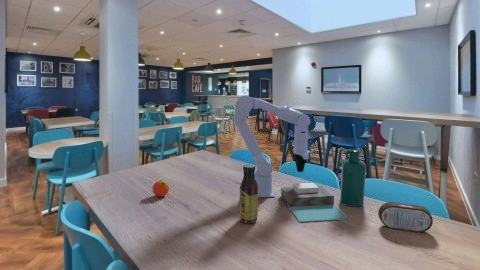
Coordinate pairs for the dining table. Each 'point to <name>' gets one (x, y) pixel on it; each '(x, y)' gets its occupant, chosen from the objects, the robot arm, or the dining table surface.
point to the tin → (405, 217)
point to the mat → (318, 213)
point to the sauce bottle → (249, 195)
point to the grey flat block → (306, 197)
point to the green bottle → (352, 179)
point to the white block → (305, 188)
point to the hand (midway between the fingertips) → (300, 171)
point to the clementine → (160, 188)
